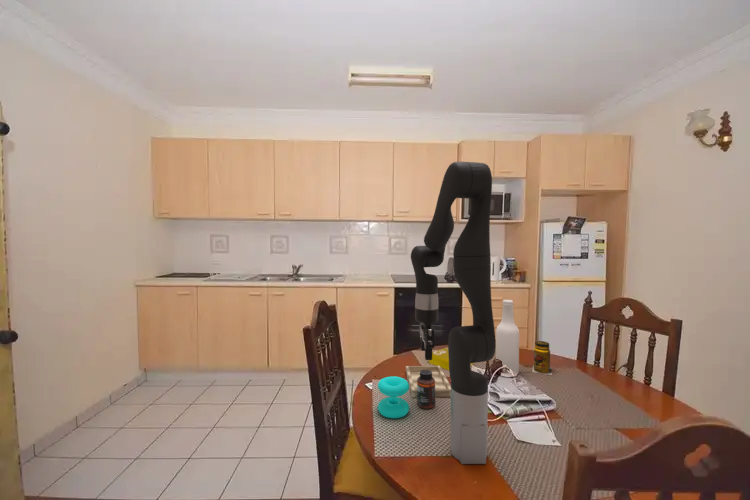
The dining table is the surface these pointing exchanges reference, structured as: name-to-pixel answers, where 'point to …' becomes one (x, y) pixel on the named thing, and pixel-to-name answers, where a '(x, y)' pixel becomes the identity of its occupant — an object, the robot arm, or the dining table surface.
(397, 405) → the donuts
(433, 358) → the element tile
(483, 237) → the robot arm
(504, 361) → the alcohol
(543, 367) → the condiment
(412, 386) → the tray
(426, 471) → the dining table surface
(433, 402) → the supplement bottle
